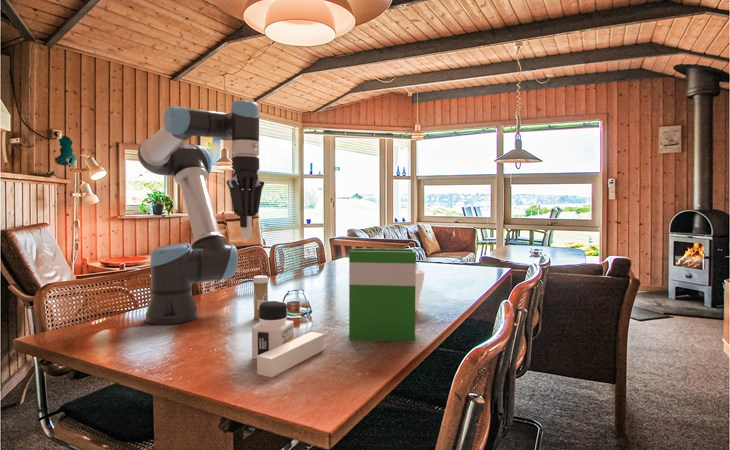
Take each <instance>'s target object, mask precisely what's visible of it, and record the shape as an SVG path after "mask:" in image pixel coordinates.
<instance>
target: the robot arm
mask: <svg viewBox="0 0 730 450" xmlns="http://www.w3.org/2000/svg"><path fill="white" fill-rule="evenodd" d="M259 113H260V112H259V105H258V103H257V102H255V101H252V100H245V99H244V100H243V99H241V100H234V101H232V103H231V108H230V112H220V111H214V110H213V111H212V110H205V109H197V108H191V107H185V106H174V105H171V106H168V107H166V109H165V111H164V114H163V126H162V127H161V128H160V129H159V130H158V131H156V133H155V134H154V135H153V136H152V137H149V138H146V139H145V140H143V141H142V143H140V145H139V146H138V149H137V158H138V161H139V163H140V164H141V165H142V167H143V168H144V169H146V170H147V171H149V172H150V173H152V174H155V175H159V176H172V177H173V178H174V182H175V183H176V184H177V185H178V186H180V189H181V192H182V197H183V201H184V204H185V205H184V206H185V208H186V209H185V210H186V212H187V217H188V221H189V224H190V225H189V226H190V229H191V232H192V236H193V240H194V241H192V243H191V244H190V243H189V242H180V243H179V242H178V243H171V244H165V245H160V246H158V247H156V248H153V250H151V253H150V260H149V261H150V262H149V266H150V289H151V290H150V292H151V297H150V300H149V303H148V307H147V311H146V312H145V322H146V323H148V324H149V325H157V326H160V325H162V326H163V325H164V326H167V325H169V326H170V325H178V324H183V323H187V322H191V321H194V320H196V319H197V318H198V317H199V308H198V307H197V304H196V302H195V298H194V295H193V292H192V285H193V284H197V283H198V284H199V283H204V282H205V283H206V282H215V281H222V280H226V279H227V280H228V279H230V278H232V277H234V274H235V273H236V271H237V269H238V262H239V255H238V250H237V247H236V246H235V244H231V243H228V240H227V238H226V236H225V235H223V234H221V232H220V229H219V225H218V221H217V217H216V214H215V210H214V206H213V204H212V200H211V196H210V192H209V189H208V185H207V182H206V180H207V179H208V178H209V175H210V174H211V170H212V164H211V162H212V160H211V156H210V153H209V151H208V150H207V149H206V148H205V147H204V146H203V145H199V144H198V145H197V144H191V143H190V144H186V142H187V141H188V140H190V139H191V138H193V137H195V136H196V137H204V138H206V137H207V138H216V139H219V140H221V141H231V154H232V156H233V157H232V158H231V159H232V161H231V164H232V165H231V166H232V170H233V171H234V172H233V177H232V178H231V179H228V180H227V181H226V185H227V186H228V189H229V193H230V199H231V203H232V204H231V205H232V209H233V213H234V214H235V215H236V216H237V217H239V227H240V228H241V231H240V232H241V233H240V234H241V236H240V237H241V239H242V240H243V239H244V240H252V239H253V226H254V217H255V216H257V214H258V213H259V212H260V205H261V197H262V193H263V192H262V191H263V188H264V185H265V182H264V181H261V180H260V179H259V175H258V171H260V158H259V156H260V114H259Z"/></svg>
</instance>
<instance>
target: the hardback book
mask: <svg viewBox="0 0 730 450" xmlns="http://www.w3.org/2000/svg"><path fill="white" fill-rule="evenodd" d="M351 249H352V250H349V251H348V254H349V255H348V259H349V260H348V261H349V262H348V264H349V265H348V266H349V267H348V268H349V269H348V270H349V271H348V276H349V278H348V280H349V281H348V283H349V284H348V285H349V286H348V289H349V290H348V297H349V299H348V300H349V301H348V303H349V305H348V312H349V313H348V314H349V318H348V319H349V322H348V323H349V324H348V325H349V327H348V337H349V338H348V339H349V340H354V341H375V340H390V341H389V342H405V341H415V342H416V312H415V283H416V268H417V267H416V261H417V260H416V258H417V255H416V253H417V251H416V248H367V247H366V248H361V247H358V248H357V247H355V248H354V247H352V248H351Z"/></svg>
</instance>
